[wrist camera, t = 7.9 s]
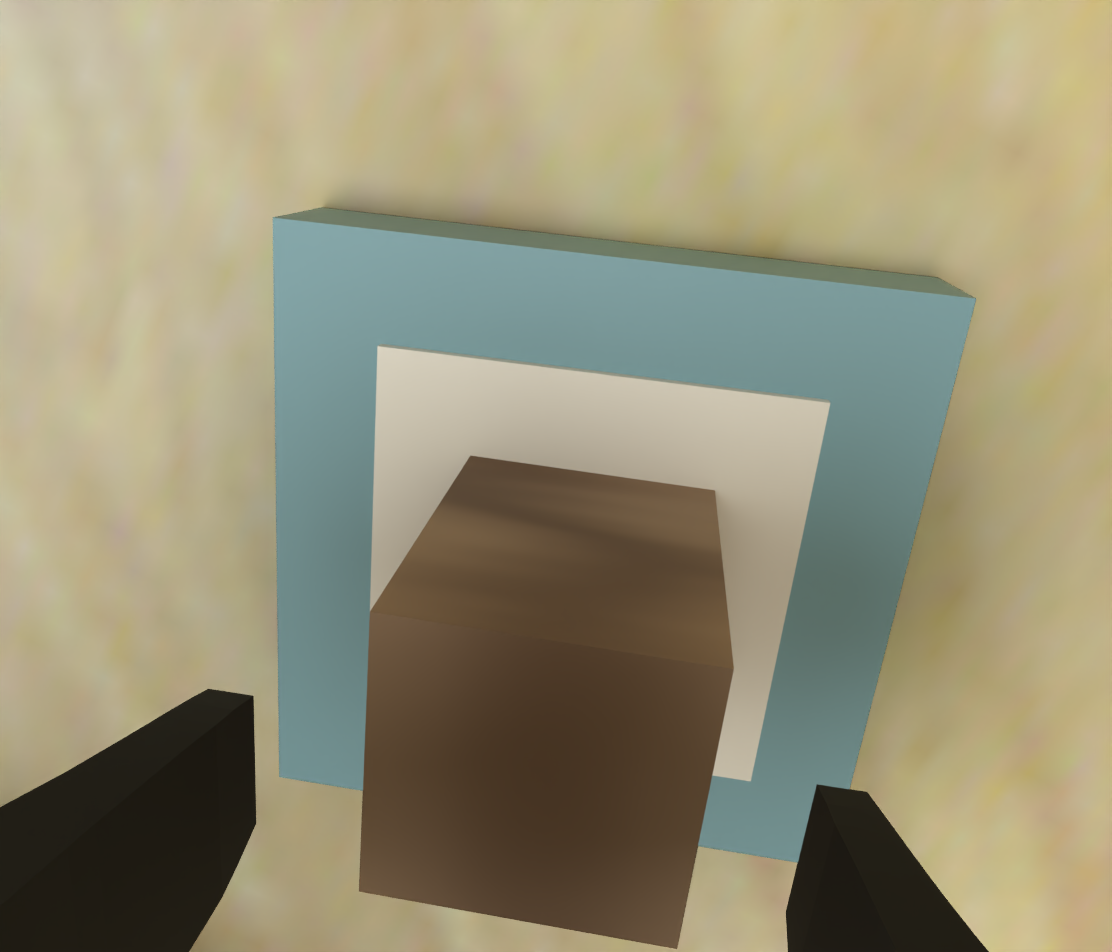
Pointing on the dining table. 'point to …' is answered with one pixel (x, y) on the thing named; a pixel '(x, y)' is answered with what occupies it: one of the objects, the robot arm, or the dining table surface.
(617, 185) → the dining table surface
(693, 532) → the walnut block
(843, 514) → the teal base
